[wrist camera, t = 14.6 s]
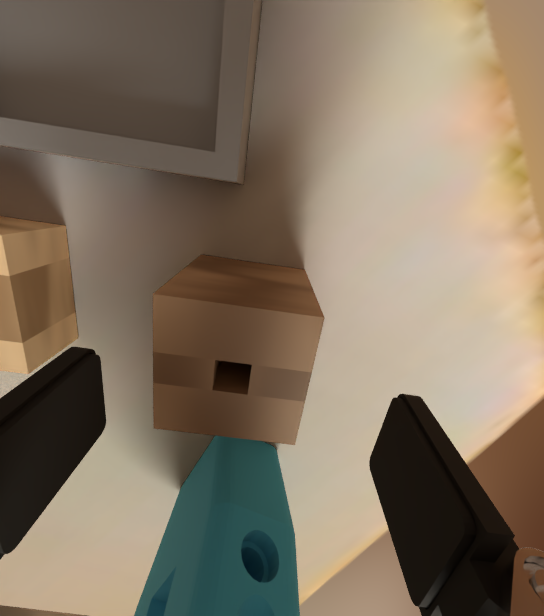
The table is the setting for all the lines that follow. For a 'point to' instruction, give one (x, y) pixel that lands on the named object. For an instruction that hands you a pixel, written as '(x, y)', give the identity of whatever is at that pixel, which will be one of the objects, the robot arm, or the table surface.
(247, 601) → the block
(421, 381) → the table surface
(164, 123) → the tray
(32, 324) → the oak block
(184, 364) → the walnut block
